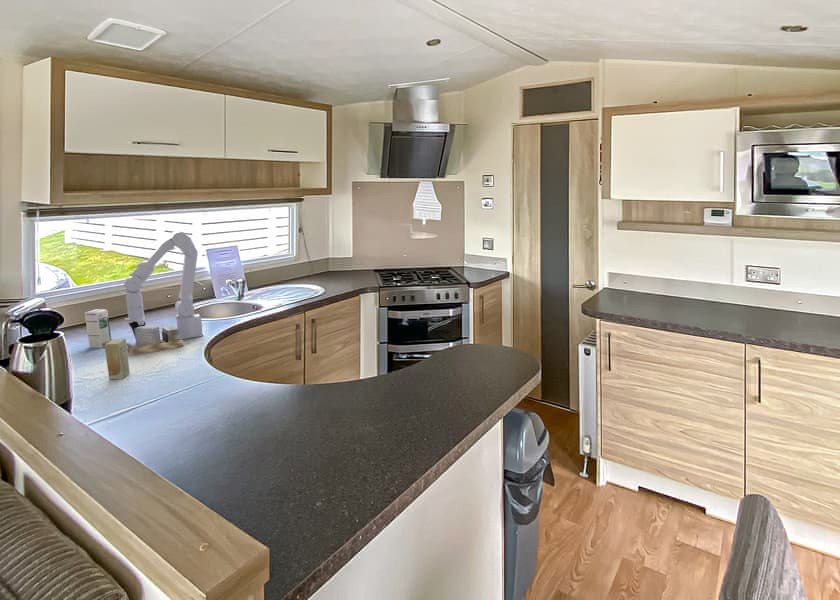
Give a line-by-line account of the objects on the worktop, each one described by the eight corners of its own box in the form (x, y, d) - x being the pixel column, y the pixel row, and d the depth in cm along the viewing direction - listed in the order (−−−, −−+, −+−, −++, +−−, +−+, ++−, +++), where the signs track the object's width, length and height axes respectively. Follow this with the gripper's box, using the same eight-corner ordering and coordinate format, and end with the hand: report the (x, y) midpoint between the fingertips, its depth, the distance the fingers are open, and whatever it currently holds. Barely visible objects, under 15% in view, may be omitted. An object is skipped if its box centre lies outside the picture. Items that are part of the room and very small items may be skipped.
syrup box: (101, 348, 221) (97, 312, 218) (88, 347, 222) (84, 311, 219) (112, 344, 226) (108, 309, 223) (99, 343, 227) (95, 308, 225)
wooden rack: (176, 341, 230) (174, 324, 228) (183, 346, 222) (181, 329, 221) (124, 349, 218) (122, 332, 216) (131, 355, 210) (129, 337, 209)
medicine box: (161, 347, 220) (159, 326, 219) (154, 350, 216) (152, 329, 214) (143, 347, 222) (141, 325, 220) (136, 350, 218) (133, 328, 216)
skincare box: (117, 374, 189) (112, 338, 186) (130, 373, 189) (126, 338, 187) (108, 380, 182) (103, 344, 180) (122, 379, 183) (117, 343, 180)
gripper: (120, 305, 228) (123, 337, 231) (128, 310, 217) (132, 344, 220) (138, 302, 233) (142, 334, 235) (148, 308, 222) (151, 341, 224)
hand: (138, 339), depth 228 cm, fingers closed
